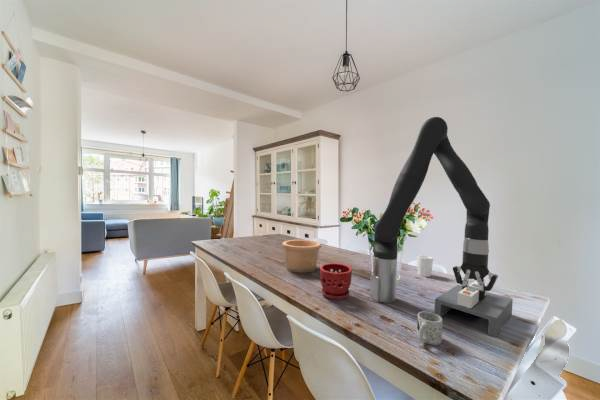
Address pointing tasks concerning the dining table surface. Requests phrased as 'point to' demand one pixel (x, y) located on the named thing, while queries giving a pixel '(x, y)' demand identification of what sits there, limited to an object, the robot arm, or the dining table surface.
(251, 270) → the dining table surface
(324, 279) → the plant pot
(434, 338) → the mug
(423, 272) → the white cup
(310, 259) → the pottery
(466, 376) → the dining table surface
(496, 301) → the keyhole board
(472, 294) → the power strip
